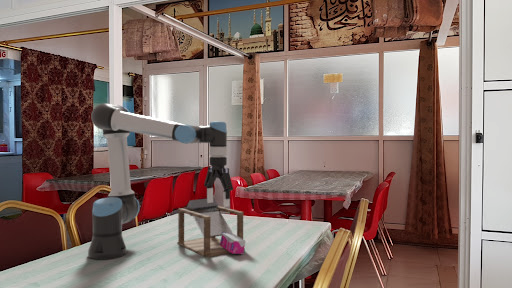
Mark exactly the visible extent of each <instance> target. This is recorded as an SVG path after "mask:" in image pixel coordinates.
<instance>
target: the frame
mask: <svg viewBox="0 0 512 288" xmlns="http://www.w3.org/2000/svg"><path fill="white" fill-rule="evenodd" d="M216 210H220V212H221V211H222V212H226V213H229V214H233V215H236V236H238V237H240V238H241V239H243V240H244V211H241V210H240V211H239V210H236V209H234V208H233V209H231V208H230V207H229V208H228V207H223V206H220V205H218V207H217V209H216ZM177 211H178V212H177V213H178V215H177V216H178V218H177V219H178V226H177V228H178V230H177V231H178V232H177V233H178V234H177V235H178V238H177V239H178V240H177V241H178V242H177V243H176V244H177V245H179V246H181V247H183V248H185V249H188V250H189V251H191V252H194V253H196V254H199V255H201V256H202V257H204V258H213V257H218V256H222V255H227V254H232V253H231V252H229V251H228V250H226V249H225V248H223V247H222V246H220V241H221V238H219V237H218V238H217V237H211V238H210V216H207V215H204V214H200V213H197V212H193V211H190V210H187V208H180V207H179V208H178V210H177ZM185 214H187V215H189V216H190V215H192V216H191V217H193V216H195V217H198V218H202V219H204V236H203V237H201V238H195V239H189V240H188V239H187V240H185ZM245 250H246V249H245V247H244V251H245Z"/></svg>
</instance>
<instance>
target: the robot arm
mask: <svg viewBox="0 0 512 288" xmlns="http://www.w3.org/2000/svg"><path fill="white" fill-rule="evenodd" d="M90 117H91V118H90V119H91V121H92V124H93V125H94V126H95V127H96V128H97V129H99V130H101V131H102V136H103V137H104V138H106V144H107V145H106V146H107V155H108V167H109V168H108V169H109V181H110V192H109V194H107V197H104V198H103V197H102V198H100V199H96V200H95V201H94V202H93V204H92V210H91V211H92V238H91V242H90V244H89V246H88V247H89V248H88V251H87V257H88V259H93V260H111V259H116V258H121V257H122V256H125V255H126V254H127V246H126V243H125V240H124V238H123V231H122V230H123V225H124V224H126V223H127V224H128V223H129V222H131V221H133V220H134V219H135V218H136V217H137V216H138V214H139V213H140V208H141V207H140V202H139V200H138V199H137V198H136V196H135V195H136V193H135V191H134V190H132V188H131V175H130V173H131V172H130V162H129V161H130V159H129V151H128V149H129V148H128V137H129V136H130V134H131V133H135V134H141V135H145V136H150V137H156V138H161V139H164V140H171V141H175V142H179V143H181V144H209V156H210V157H209V165H210V166H208V167H207V173H206V176H205V180H204V182H203V183H204V184H203V186H204V187H205V188H206V199H207V203H212V202H213V198H214V187H213V186H214V184H215V182H216V180H217V179H219V180H220V183H221V185H222V188H223V191H222V193H223V197H222V199H223V200H222V201H223V202H222V205H223V206H222V207H225V208H228V207H230V200H231V191H233V190H234V186H233V182H232V178H231V175H230V169H229V168H228V167H225V166H227V165H228V163H227V162H228V161H227V157H226V156H227V155H228V154H227V151H228V150H227V147H228V146H227V137H228V131H227V122H225V121H210V122H209V125H204V126H203V125H190V124H185V123H181V122H175V121H170V120H165V119H161V118H156V117H151V116H145V115H141V114H136V113H132V112H130V110H129V109H128V108H126V107H124V106H123V105H118V104H117V105H116V104H111V103H100V104H98V105H96V106H95V107H94V108H93V109H92V111H91V116H90Z"/></svg>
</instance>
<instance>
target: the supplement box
mask: <svg viewBox="0 0 512 288" xmlns="http://www.w3.org/2000/svg"><path fill="white" fill-rule="evenodd" d="M220 239H221V241H220V246H222V247H223V248H225V249H226V250H228V251H229V252H231V253H230V254H232V255H233V254H234V255H235V254H239V255H240V254H244V251H245V250H244V248H245V246H246V242H247V240H245V239H244V238H243V239H241V238H240V237H238V236H237V234H234V232H232V233H222V236H220Z"/></svg>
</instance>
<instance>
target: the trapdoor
mask: <svg viewBox="0 0 512 288" xmlns="http://www.w3.org/2000/svg"><path fill="white" fill-rule="evenodd" d="M218 206H219V204H218V203H217V201H216V200H215V198H214V197H213V202H212V203H207V198H203V199H202V198H201V199H192V200H189V202H188V203H187V207H186V209H187V210H190V211H193V212H197V213H200V214H204V215H207V216H210V238H211V237H215V238H217V237H221V236H222V233H233V231H232V230H231V227H230V226H229V224H228V223H227V221H226V219H225V218H224V216H223V215H222V213H221V210H217V207H218ZM189 216H190V217H193V218H192V219H193V220H194V221H195V223H196V226H197V227H198V229H199V231H200V233H201V234H202V236H203V237H204V219H202V218H198V217H195V216H192V215H189Z"/></svg>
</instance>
